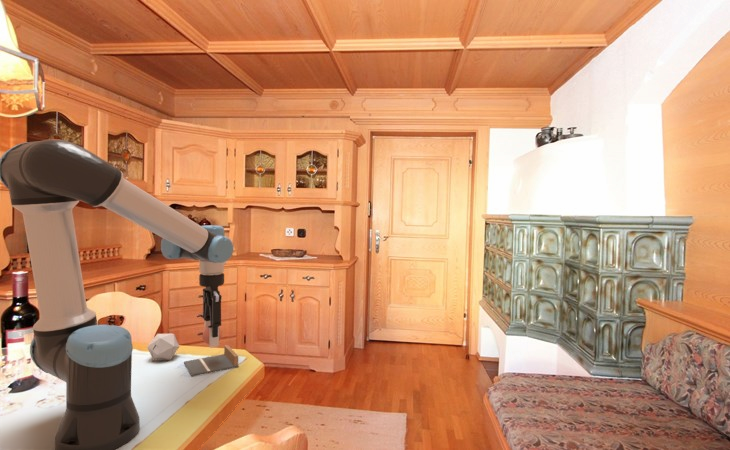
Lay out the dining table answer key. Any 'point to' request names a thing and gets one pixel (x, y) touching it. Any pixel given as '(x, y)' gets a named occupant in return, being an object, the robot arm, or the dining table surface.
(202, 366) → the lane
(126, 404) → the robot arm
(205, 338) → the ball
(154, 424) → the dining table surface
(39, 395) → the dining table surface
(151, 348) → the die
